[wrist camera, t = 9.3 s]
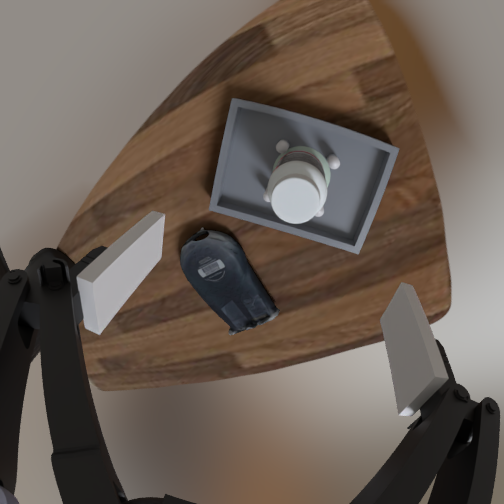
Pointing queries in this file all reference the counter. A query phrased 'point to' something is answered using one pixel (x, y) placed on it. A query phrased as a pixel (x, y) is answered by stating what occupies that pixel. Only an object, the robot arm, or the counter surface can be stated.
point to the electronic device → (226, 280)
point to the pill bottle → (297, 187)
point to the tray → (319, 144)
